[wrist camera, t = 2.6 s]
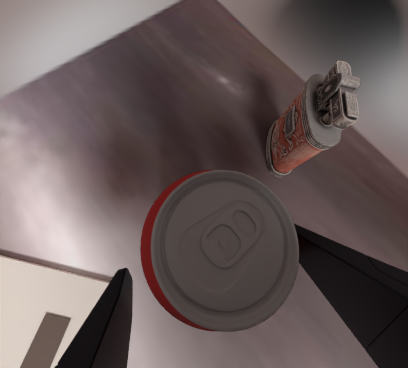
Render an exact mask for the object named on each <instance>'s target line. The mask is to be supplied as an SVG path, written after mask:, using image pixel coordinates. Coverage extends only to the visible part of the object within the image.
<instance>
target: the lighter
mask: <svg viewBox="0 0 408 368" xmlns="http://www.w3.org/2000/svg"><path fill="white" fill-rule="evenodd" d="M360 83H361V82H360V79H359V78H357V77H354V76H352V75H351V69H350V66H349V64H348V63H346V62H343V61H338V62H337V63H336V64H335V65H334V66H333V67H332V69H331V70H330V71H329V72H328V74H327V75H326V76H323V75H320V74H314V75H312V76H311V77H310V78H309V79H308V80H307V82H306V83H305V85H304V88H303V90H302V91H301V92H300V93H299V95H298V96H297V97H296V98H295V100H294V101H293V102H292V103H291V104H290V106H289V107H288V108H287V109H286V111H285V112H284V113H283V114H282V116H281V117H280V118H279V119H278V120H276V121H275V122H274V123H273V124H272V126H271V127H270V130H269V133H268V137H267V144H266V159H267V166H268V170H269V172H270V173H271V174H272V175H274V176H276V177H283V176H285V175H287V174H288V173H290V172H291V170H292V169H294V168H295V167H297V166H298V165H300V164H302V163H303V162H305V161H306V160H308V159H310V158H311V157H313V156H314V155H316V154H318V153H319V152H321V151H322V150H327V149H330V148H331V147H333V146H335V145H336V144H337V143H339V141H340V138H341V129H342V130H343V129H346V128H347V127H348V126H350V125H351V124H353V123H354V122H356V121H357V120H358V116H359V111H358V105H357V99H356V94H355V93H356V91H357V90H358V88H359V86H360Z"/></svg>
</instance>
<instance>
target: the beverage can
mask: <svg viewBox="0 0 408 368" xmlns="http://www.w3.org/2000/svg"><path fill="white" fill-rule="evenodd" d="M141 262H142V267H143V271H144V275H145V278H146V280H147V283H148V285H149V287H150V289H151V291H152V293H153V294H154V296H155V298H156V299H157V300H158V302H159V303H160V304H161V305H162V306H163V307H164V309H165V310H166V311H168V312H169V313H170V314H171V315H172V316H174V317H175V318H176V319H178V320H180V321H181V322H183V323H185V324H187V325H190V326H192V327H195V328H198V329H202V330H207V331H239V330H244V329H248V328H251V327H253V326H256V325H258V324H260V323H262V322H263V321H265V320H266V319H268V318H269V317H270V316H272V315H273V314H274V313H275V312H276V311H277V310H278V309H279V308H280V306H281V305H282V304H283V303H284V301H285V300H286V298H287V297H288V295H289V293H290V291H291V289H292V287H293V284H294V282H295V279H296V275H297V270H298V264H299V244H298V237H297V233H296V229H295V226H294V223H293V220H292V218H291V216H290V214H289V212H288V210H287V208H286V207H285V205H284V204H283V202H282V201H281V200H280V198H279V197H278V196H277V195H276V194H275V193H274V192H273V191H272V190H271V189H270V188H269V187H268V186H266V185H265V184H264V183H262V182H261V181H259V180H257V179H256V178H254V177H251V176H249V175H247V174H244V173H240V172H237V171H230V170H205V171H199V172H195V173H192V174H189V175H187V176H184V177H182V178H181V179H179V180H177V181H175V182H174V183H172V184H171V185H170V186H169V187H167V188H166V189H165V190H164V191H163V192H162V193H161V195H160V196H159V197H158V198H157V199H156V201H155V202H154V204H153V205H152V207H151V209H150V211H149V213H148V215H147V217H146V220H145V223H144V226H143V231H142V236H141Z"/></svg>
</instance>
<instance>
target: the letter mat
mask: <svg viewBox="0 0 408 368" xmlns="http://www.w3.org/2000/svg"><path fill="white" fill-rule="evenodd" d="M109 283H110V282H108V281H104V280H99V279H95V278H91V277H87V276H83V275H79V274H75V273H71V272H67V271H63V270H59V269H55V268H51V267H47V266H43V265H39V264H35V263H31V262H27V261H23V260H19V259H15V258H11V257H7V256H3V255H0V368H54V367H55V366H56V365H58V361H59V360H60V358H61V357H62V355H63V354H64V352H65V351H66V349H67V348H68V346H69V344H70V343H71V341H72V340H73V338H74V337H75V335H76V334H77V332H78V331H79V329H80V328H81V326H82V324H83V323H84V321H85V320H86V318H87V317H88V315H89V314H90V312H91V311H92V309H93V307H94V306H95V304H96V303H97V301H98V300H99V298H100V297H101V295H102V294H103V292H104V291H105V289H106V287H107V286H108V284H109Z"/></svg>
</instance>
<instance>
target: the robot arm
mask: <svg viewBox="0 0 408 368" xmlns="http://www.w3.org/2000/svg"><path fill="white" fill-rule="evenodd" d="M294 226H295V229H296V233H297V237H298V244H299V263H300V264H301V266H302V267H303V268H304V270H305V271H306V272H307V274H308V275H309V276H310V278H311V279H312V280H313V282H314V283H315V284H316V286H317V287H318V288H319V289H320V291H321V292H322V293H323V295H324V296H325V297H326V299H327V300H328V301H329V303H330V304H331V305H332V307H333V308H334V309H335V311H336V312H337V313H338V315H339V316H340V317H341V318H342V320H343V321H344V322H345V324H346V325H347V326H348V328H349V329H350V330H351V332H352V333H353V334H354V336H355V337H356V338H357V340H358V341H359V342H360V344H361V345H362V346H363V348H364V349H365V350H366V352H367V353H368V354H369V356H370V357H371V358H372V360H373V361H374V362H375V364H376V365H377V366H378V367H379V368H408V272H406V271H403V270H401V269H398V268H396V267H393V266H391V265H388V264H386V263H384V262H381V261H379V260H376V259H374V258H372V257H370V256H366V255H365V254H363V253H360V252H358V251H356V250H353V249H351V248H349V247H346V246H344V245H342V244H340V243H337V242H335V241H333V240H330V239H328V238H326V237H323V236H321V235H319V234H317V233H314V232H312V231H310V230H307V229H305V228H303V227H300V226H298V225H296V224H294ZM131 324H132V277H131V275H130V273H129V270H128V269H127V268H123V269H120V270H118V271H117V272H116V274H115V275H114V277H113V278H112V280H111V281H110V283H109V284H108V286H107V287H106V289H105V291H104V292H103V294H102V295H101V297H100V298H99V300H98V301H97V303H96V304H95V306H94V307H93V309H92V311H91V312H90V314H89V315H88V317H87V318H86V320H85V321H84V323H83V324H82V326H81V328H80V329H79V331H78V332H77V334H76V335H75V337H74V338H73V340H72V341H71V343H70V344H69V346H68V348H67V349H66V351H65V352H64V354H63V355H62V357H61V358H60V360H59V361H58V365H56V366H55V367H54V368H127V360H128V351H129V342H130V333H131Z"/></svg>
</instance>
